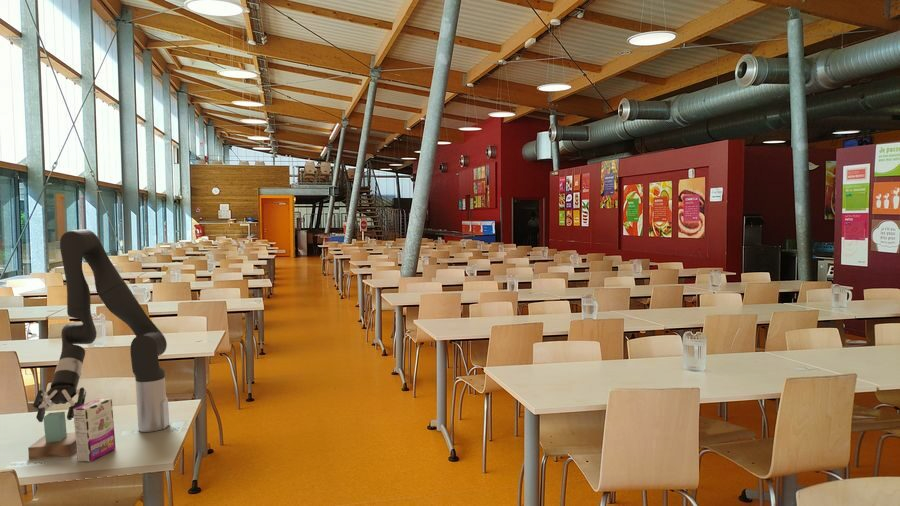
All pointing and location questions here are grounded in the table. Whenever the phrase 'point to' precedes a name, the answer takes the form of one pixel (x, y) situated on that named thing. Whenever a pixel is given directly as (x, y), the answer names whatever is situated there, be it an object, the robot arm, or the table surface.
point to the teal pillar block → (55, 426)
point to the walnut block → (53, 447)
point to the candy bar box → (94, 429)
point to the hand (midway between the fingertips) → (54, 419)
